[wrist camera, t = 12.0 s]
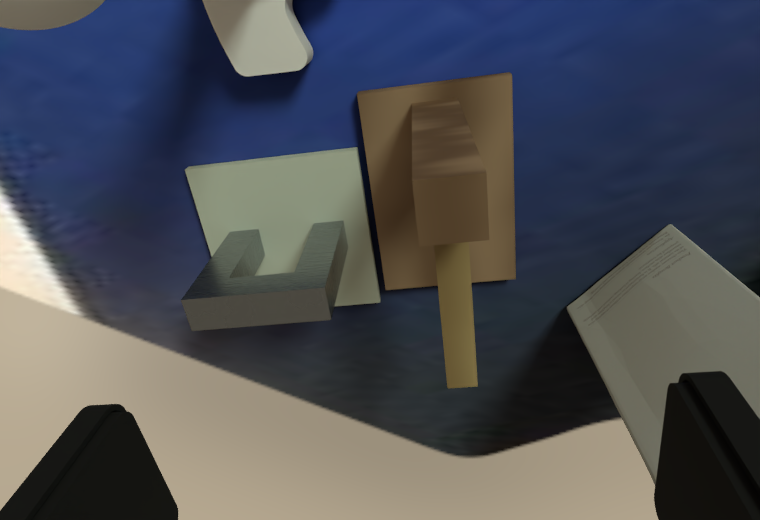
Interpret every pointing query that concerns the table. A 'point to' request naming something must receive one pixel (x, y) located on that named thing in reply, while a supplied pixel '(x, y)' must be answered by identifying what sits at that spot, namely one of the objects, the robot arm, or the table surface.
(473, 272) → the stand
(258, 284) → the grey u-shaped block
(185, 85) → the table surface
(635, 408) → the skincare box
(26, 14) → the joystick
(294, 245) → the mat
